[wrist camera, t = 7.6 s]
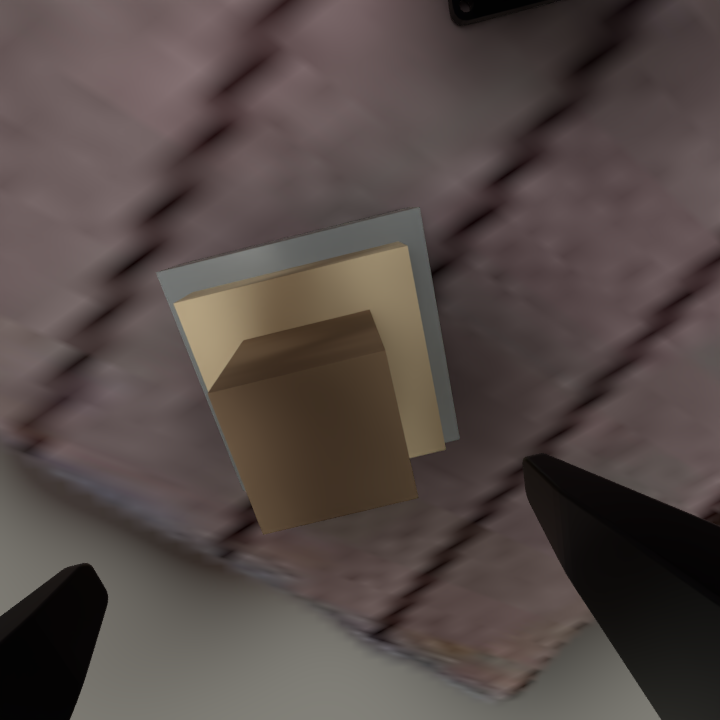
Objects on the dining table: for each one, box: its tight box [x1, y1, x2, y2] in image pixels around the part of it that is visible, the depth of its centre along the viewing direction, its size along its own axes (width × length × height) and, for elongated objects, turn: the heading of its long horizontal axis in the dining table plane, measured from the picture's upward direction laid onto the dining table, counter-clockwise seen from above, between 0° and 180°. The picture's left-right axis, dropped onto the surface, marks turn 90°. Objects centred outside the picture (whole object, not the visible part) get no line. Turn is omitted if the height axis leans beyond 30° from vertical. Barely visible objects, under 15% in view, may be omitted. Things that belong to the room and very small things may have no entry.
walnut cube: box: [207, 309, 418, 535], centre depth 13 cm, size 4×4×4 cm
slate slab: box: [156, 207, 460, 491], centre depth 18 cm, size 10×10×2 cm
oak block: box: [173, 241, 446, 458], centre depth 16 cm, size 8×8×2 cm
